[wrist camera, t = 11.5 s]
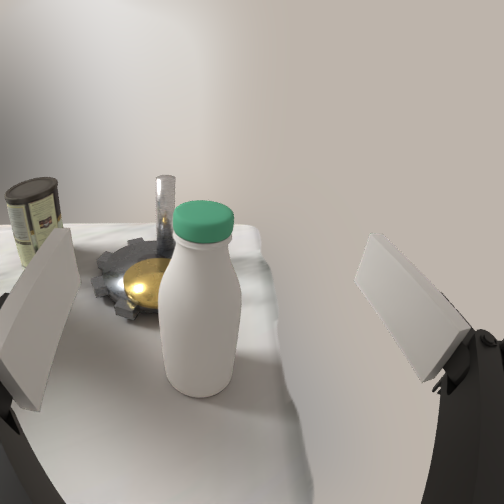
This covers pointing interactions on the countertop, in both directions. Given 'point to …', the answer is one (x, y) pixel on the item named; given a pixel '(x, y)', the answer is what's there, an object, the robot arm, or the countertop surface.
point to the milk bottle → (200, 301)
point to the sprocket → (140, 261)
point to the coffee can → (33, 214)
